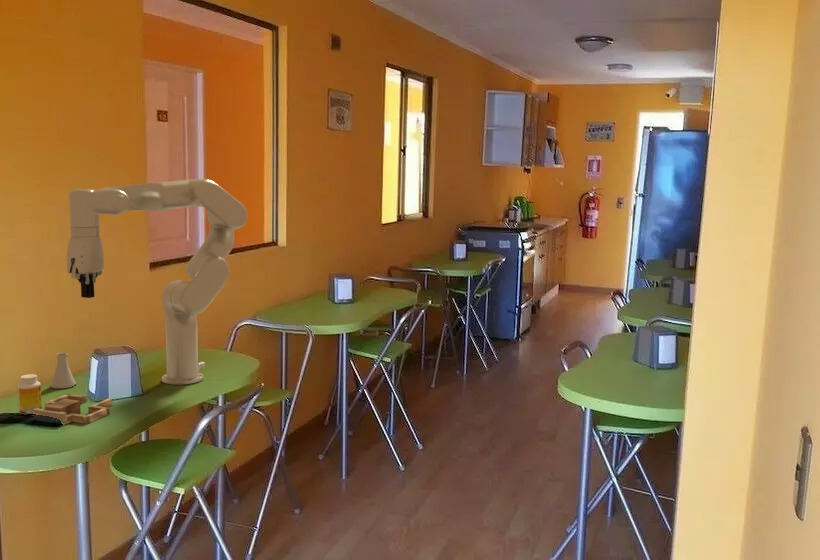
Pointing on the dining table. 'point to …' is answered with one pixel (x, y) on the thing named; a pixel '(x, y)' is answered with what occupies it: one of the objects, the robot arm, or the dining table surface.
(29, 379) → the supplement bottle
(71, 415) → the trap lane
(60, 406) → the walnut block
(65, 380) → the flask
